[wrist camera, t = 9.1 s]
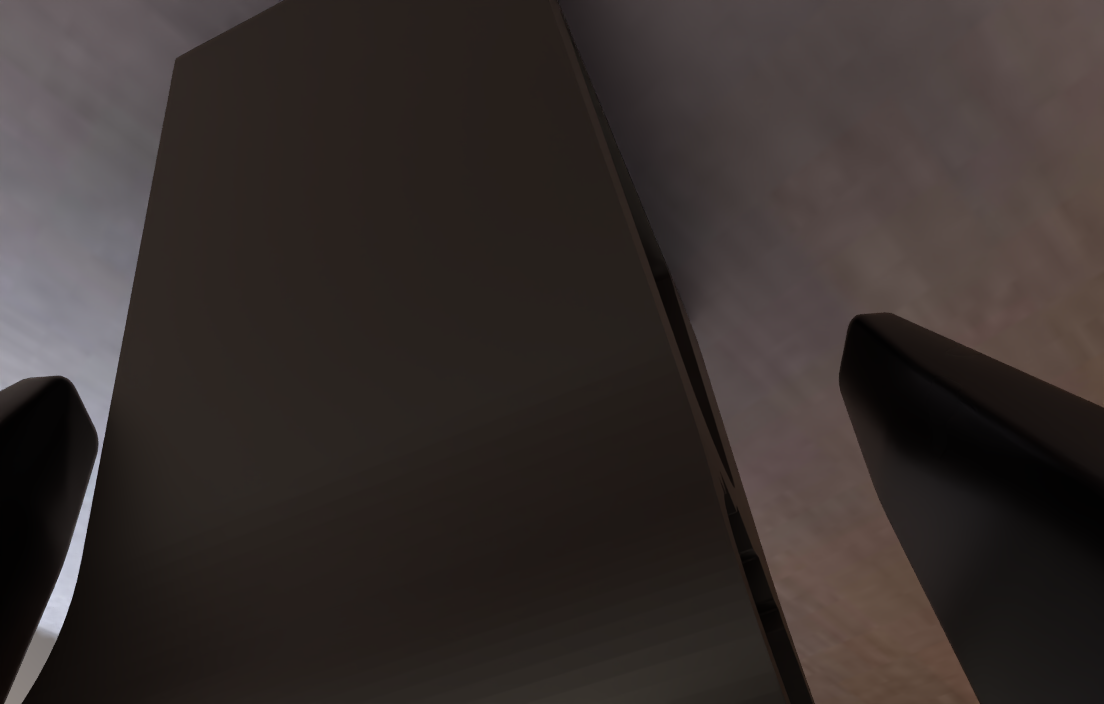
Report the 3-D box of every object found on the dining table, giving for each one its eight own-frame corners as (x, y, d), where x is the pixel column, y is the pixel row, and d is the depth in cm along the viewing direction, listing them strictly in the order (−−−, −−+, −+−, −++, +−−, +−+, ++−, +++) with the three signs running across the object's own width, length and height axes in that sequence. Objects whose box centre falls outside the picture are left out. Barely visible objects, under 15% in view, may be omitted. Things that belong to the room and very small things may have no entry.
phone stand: (184, 49, 13) (-887, 814, 3) (510, -124, 12) (530, 203, 2) (442, 426, 18) (360, 1197, 8) (693, 330, 17) (970, 1095, 7)
